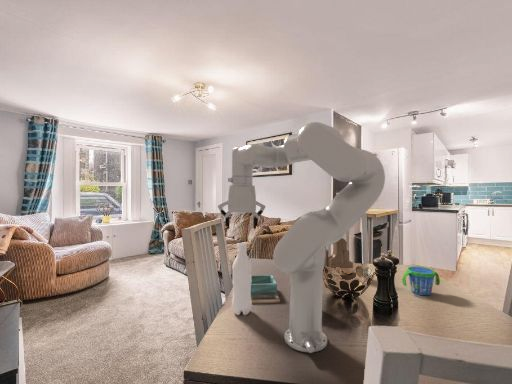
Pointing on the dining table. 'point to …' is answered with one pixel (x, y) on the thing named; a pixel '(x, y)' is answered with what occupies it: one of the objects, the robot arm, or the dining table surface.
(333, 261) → the wooden toy
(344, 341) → the dining table surface
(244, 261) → the water bottle
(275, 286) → the bottle stand
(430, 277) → the snack cup
